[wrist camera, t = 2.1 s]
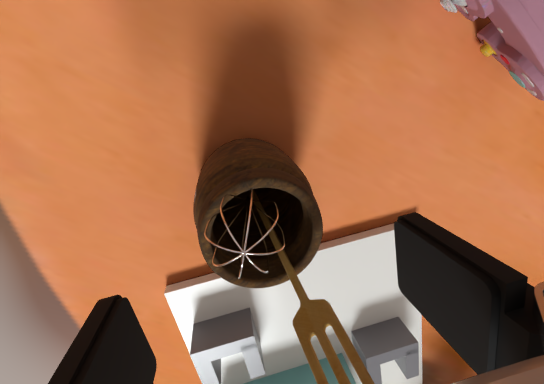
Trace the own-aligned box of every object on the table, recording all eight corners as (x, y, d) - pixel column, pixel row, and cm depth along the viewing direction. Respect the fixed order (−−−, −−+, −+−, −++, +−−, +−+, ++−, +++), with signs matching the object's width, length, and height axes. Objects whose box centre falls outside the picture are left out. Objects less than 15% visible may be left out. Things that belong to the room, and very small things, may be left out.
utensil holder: (258, 114, 17) (337, 168, 6) (313, 195, 19) (445, 347, 8) (177, 173, 17) (98, 335, 6) (240, 246, 19) (269, 459, 8)
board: (166, 285, 19) (154, 329, 16) (413, 217, 21) (452, 244, 17) (238, 456, 27) (241, 512, 23) (417, 396, 28) (445, 440, 25)
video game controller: (399, -31, 17) (436, -20, 12) (480, -122, 14) (574, -161, 9) (487, 81, 20) (547, 130, 15) (565, 25, 18) (671, 59, 12)
